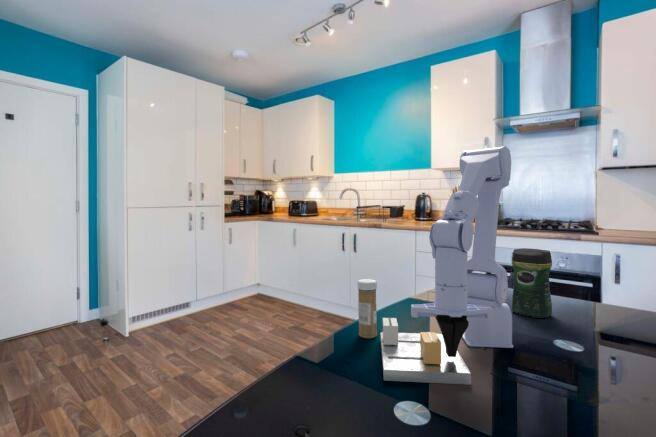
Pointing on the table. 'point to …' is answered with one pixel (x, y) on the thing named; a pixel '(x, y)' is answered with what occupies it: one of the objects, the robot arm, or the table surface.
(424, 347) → the fader knob orange
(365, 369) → the table surface
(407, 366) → the fader panel
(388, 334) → the fader knob white
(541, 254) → the coffee jar
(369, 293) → the sprinkles bottle
